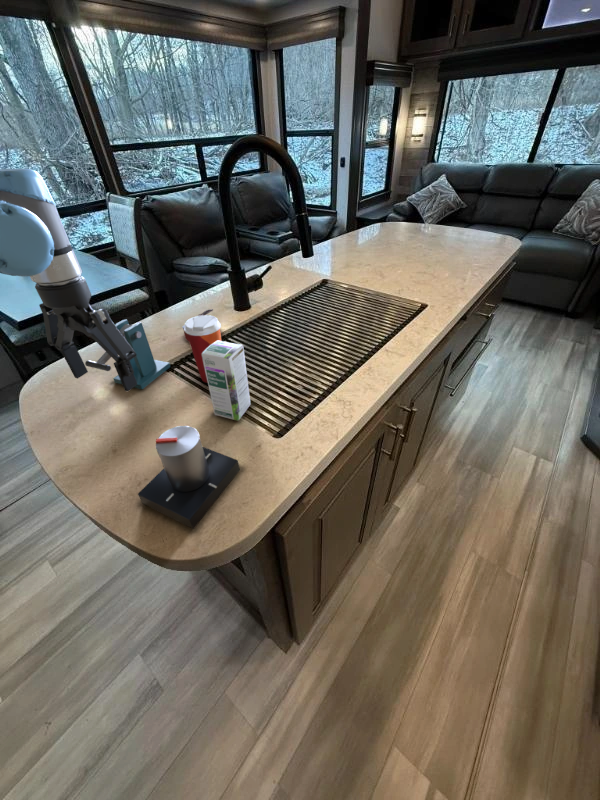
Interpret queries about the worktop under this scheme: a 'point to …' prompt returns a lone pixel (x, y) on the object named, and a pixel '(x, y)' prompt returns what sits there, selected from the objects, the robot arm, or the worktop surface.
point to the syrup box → (227, 379)
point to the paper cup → (202, 337)
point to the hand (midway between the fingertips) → (105, 381)
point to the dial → (183, 458)
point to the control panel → (192, 503)
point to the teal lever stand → (141, 356)
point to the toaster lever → (105, 355)
